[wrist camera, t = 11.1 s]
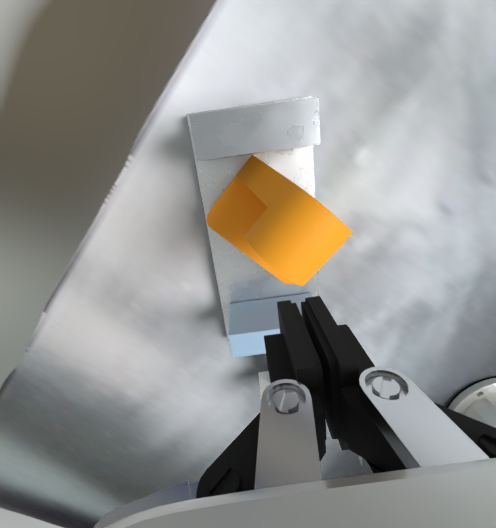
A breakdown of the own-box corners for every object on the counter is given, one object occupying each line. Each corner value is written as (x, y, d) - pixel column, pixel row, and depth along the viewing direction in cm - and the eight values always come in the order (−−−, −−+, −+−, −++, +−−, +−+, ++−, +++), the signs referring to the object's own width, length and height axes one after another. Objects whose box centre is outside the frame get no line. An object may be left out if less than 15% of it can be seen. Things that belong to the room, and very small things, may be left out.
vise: (307, 99, 25) (332, 77, 19) (318, 324, 34) (338, 363, 27) (188, 115, 26) (171, 100, 19) (228, 336, 34) (226, 378, 27)
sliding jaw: (310, 293, 31) (326, 322, 25) (315, 375, 35) (330, 416, 29) (229, 303, 31) (228, 335, 25) (243, 384, 35) (245, 427, 29)
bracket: (205, 216, 28) (183, 254, 16) (250, 155, 26) (261, 151, 15) (285, 277, 30) (314, 346, 19) (332, 225, 29) (394, 268, 17)
